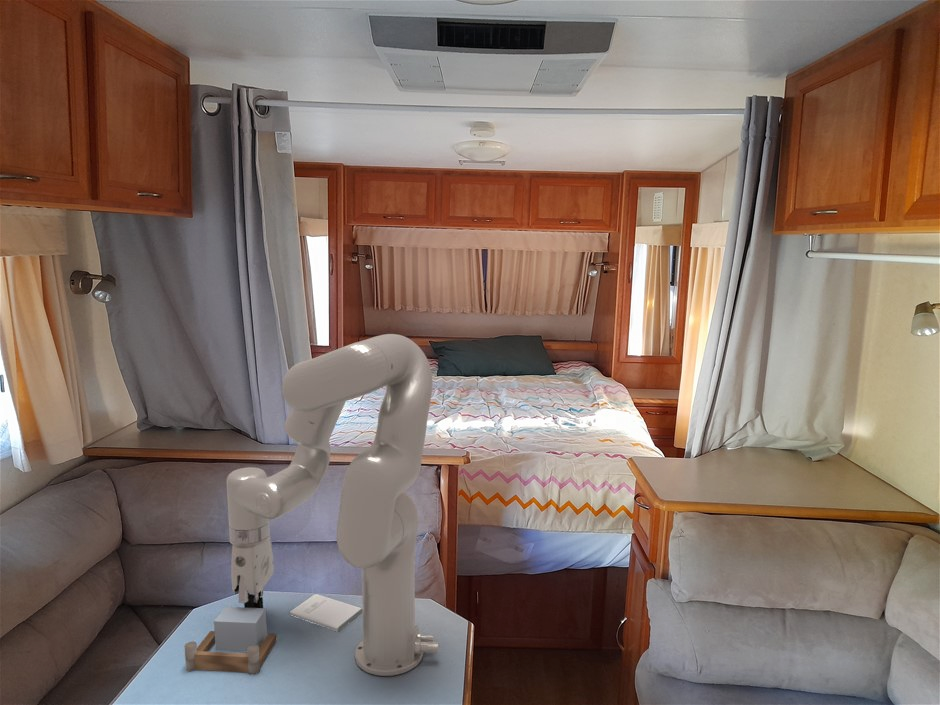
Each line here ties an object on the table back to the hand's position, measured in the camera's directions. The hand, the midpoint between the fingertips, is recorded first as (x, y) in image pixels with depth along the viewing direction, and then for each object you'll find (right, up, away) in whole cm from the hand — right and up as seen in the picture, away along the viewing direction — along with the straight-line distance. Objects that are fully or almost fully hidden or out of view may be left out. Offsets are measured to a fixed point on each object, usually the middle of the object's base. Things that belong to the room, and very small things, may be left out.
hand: (254, 617), depth 133 cm
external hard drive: (+14, -2, +4) cm, 14 cm away
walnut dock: (-1, -3, -9) cm, 10 cm away
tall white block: (0, -3, -6) cm, 7 cm away
